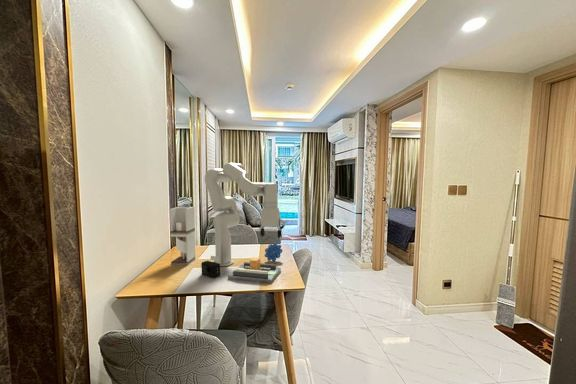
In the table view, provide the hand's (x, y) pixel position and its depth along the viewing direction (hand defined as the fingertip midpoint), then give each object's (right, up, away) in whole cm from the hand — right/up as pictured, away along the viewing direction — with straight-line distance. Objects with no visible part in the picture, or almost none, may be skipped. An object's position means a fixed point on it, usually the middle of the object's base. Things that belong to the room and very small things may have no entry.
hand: (271, 236), depth 140 cm
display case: (-58, -21, +24) cm, 66 cm away
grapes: (0, -21, +27) cm, 34 cm away
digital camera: (-34, -22, +1) cm, 40 cm away
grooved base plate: (-9, -19, +1) cm, 21 cm away
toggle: (-9, -19, +1) cm, 21 cm away
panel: (-9, -21, +1) cm, 23 cm away
